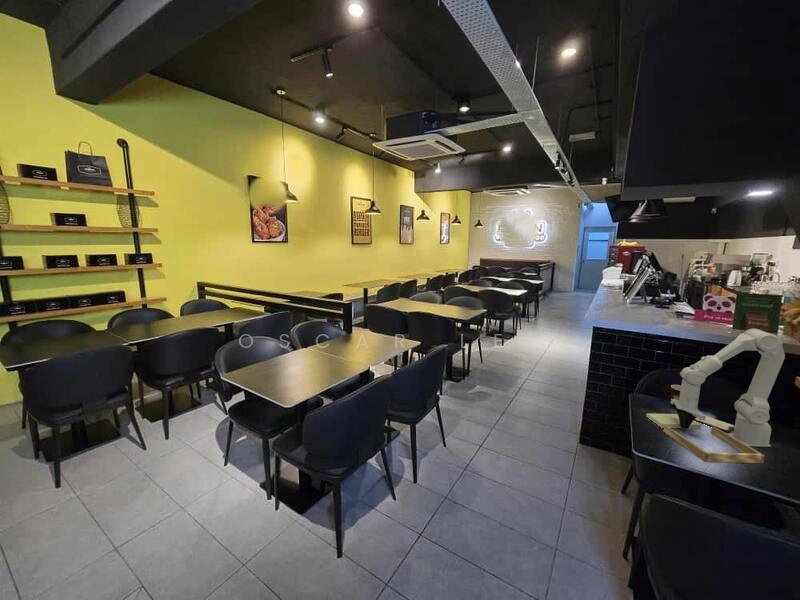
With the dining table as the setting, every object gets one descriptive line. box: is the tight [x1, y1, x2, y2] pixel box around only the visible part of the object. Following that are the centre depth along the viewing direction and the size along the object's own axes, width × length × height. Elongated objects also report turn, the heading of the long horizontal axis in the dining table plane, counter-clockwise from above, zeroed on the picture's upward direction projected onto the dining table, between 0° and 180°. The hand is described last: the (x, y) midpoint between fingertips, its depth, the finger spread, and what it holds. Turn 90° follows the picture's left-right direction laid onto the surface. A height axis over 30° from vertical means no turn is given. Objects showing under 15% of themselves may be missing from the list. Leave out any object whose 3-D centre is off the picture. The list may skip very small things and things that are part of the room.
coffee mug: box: [661, 384, 681, 411], centre depth 154 cm, size 12×9×10 cm
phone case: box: [694, 415, 735, 434], centre depth 141 cm, size 9×2×16 cm
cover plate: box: [645, 413, 702, 430], centre depth 140 cm, size 16×9×2 cm, turn 89°
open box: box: [662, 425, 766, 464], centre depth 123 cm, size 20×19×3 cm
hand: (684, 427), depth 135 cm, fingers closed
